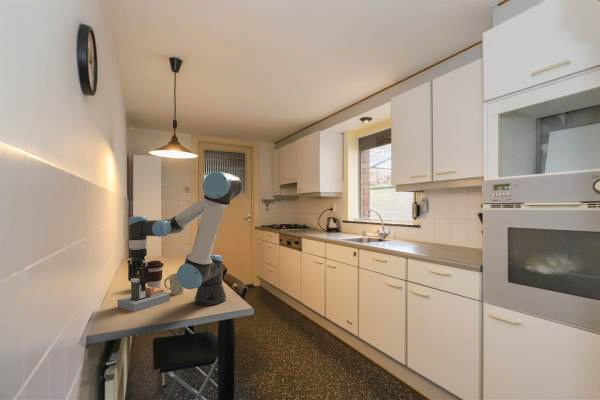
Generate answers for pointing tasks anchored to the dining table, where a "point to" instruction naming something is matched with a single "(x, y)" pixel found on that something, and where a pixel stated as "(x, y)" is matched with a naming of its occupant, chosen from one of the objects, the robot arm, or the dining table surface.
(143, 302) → the socket plate
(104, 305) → the dining table surface
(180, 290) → the mug
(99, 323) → the dining table surface
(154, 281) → the coffee cup
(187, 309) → the dining table surface
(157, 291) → the block
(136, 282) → the plug
